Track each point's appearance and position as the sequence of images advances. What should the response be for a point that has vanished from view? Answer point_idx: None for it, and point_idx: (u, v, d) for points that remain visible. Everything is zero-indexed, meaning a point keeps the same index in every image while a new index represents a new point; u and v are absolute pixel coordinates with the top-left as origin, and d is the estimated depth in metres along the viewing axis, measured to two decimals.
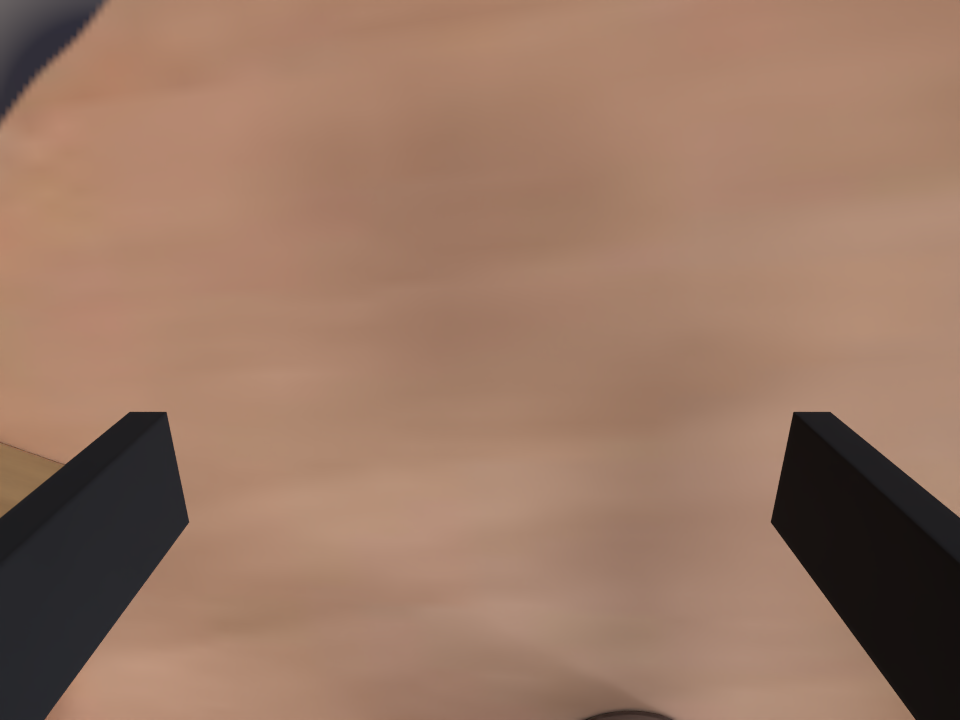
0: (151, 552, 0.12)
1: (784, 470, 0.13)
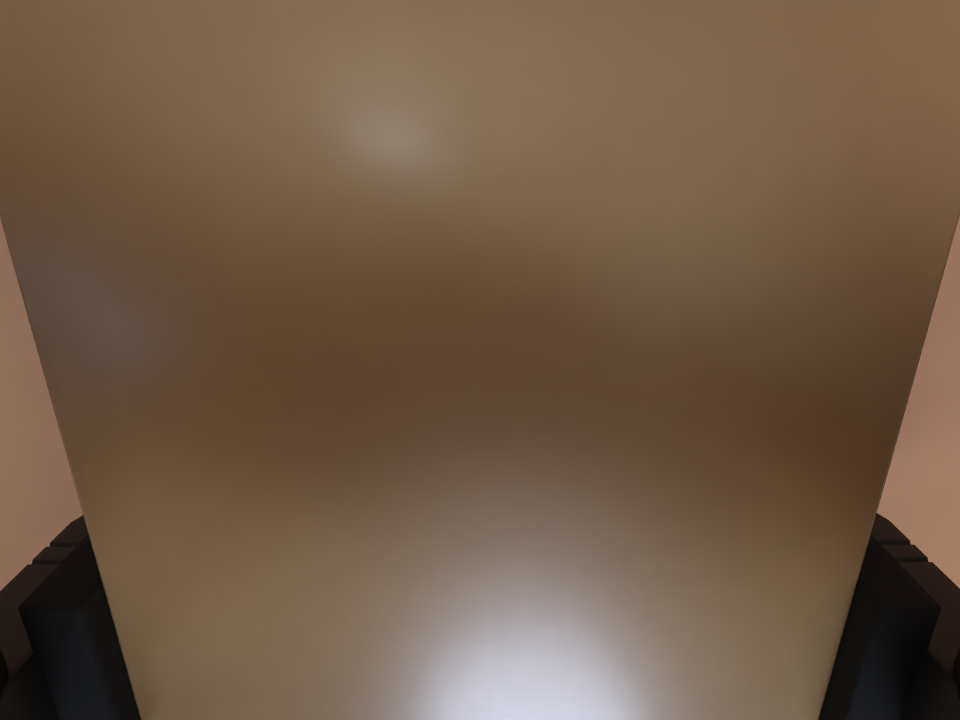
0: None
1: None
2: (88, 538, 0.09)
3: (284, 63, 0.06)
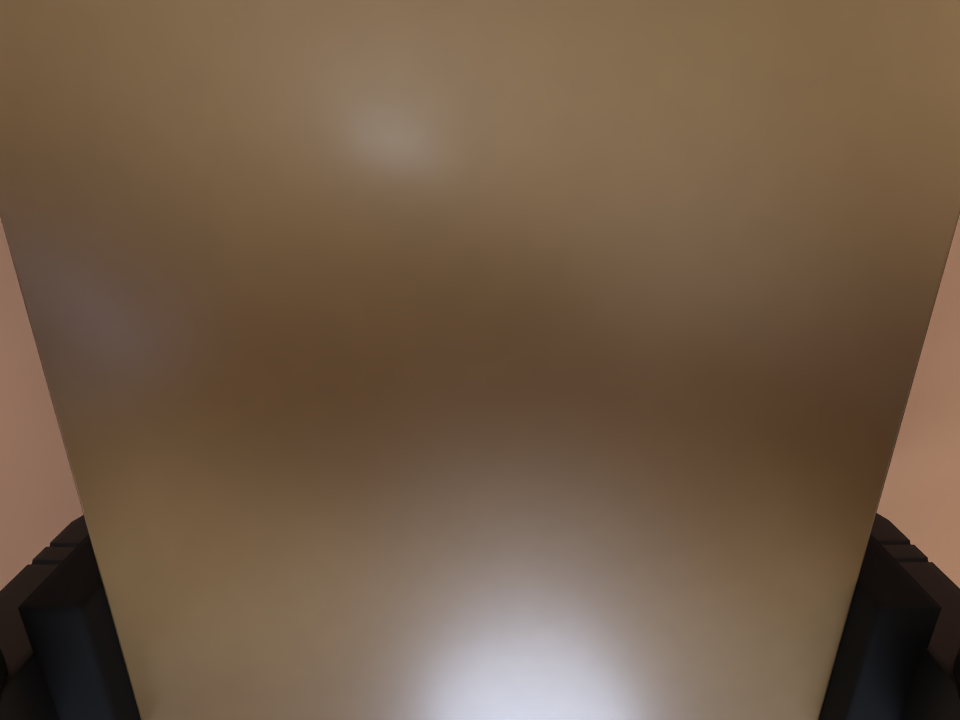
0: None
1: None
2: (88, 538, 0.09)
3: (284, 65, 0.06)
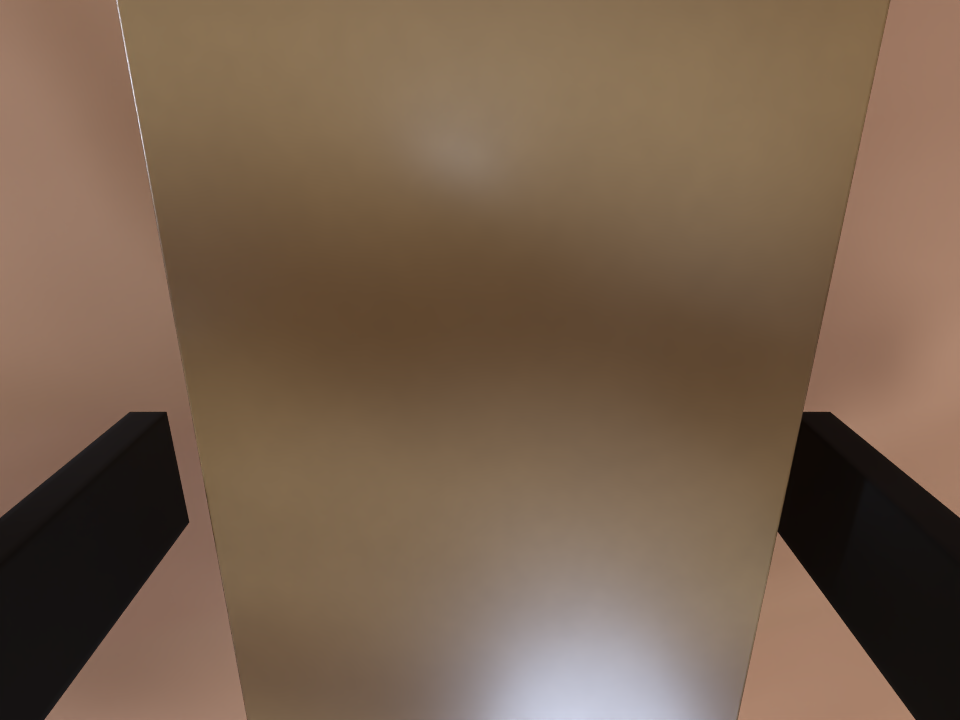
0: (152, 552, 0.12)
1: None
2: None
3: (360, 88, 0.08)
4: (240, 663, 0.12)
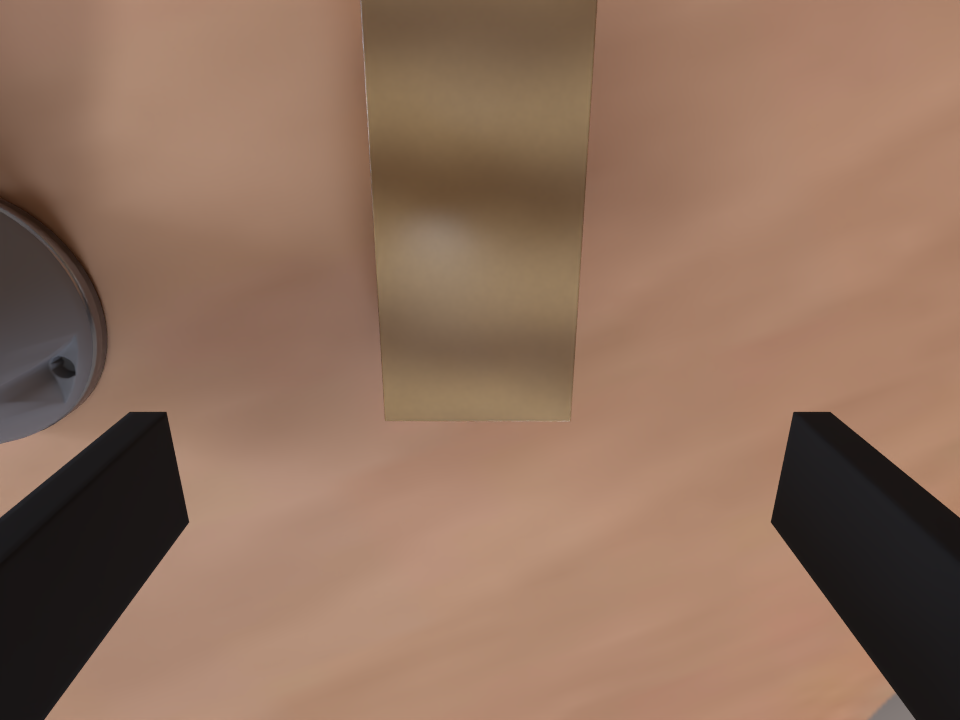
0: (151, 552, 0.12)
1: (784, 469, 0.13)
2: None
3: (436, 112, 0.26)
4: (381, 330, 0.30)
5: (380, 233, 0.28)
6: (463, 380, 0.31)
